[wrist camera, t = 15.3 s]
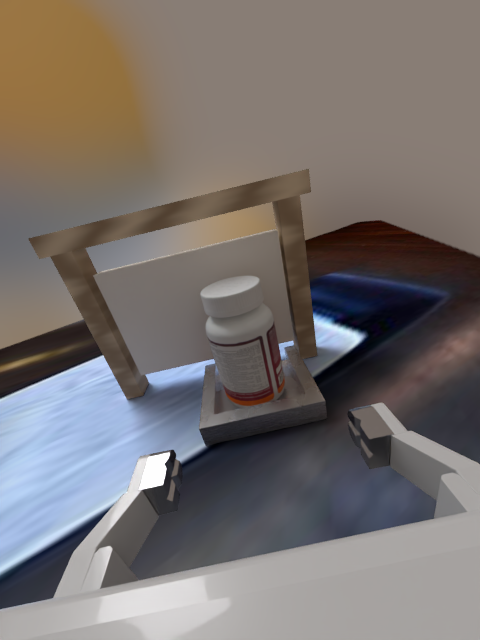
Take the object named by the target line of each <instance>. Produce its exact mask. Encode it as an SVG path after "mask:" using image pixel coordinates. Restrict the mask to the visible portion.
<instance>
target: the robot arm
mask: <svg viewBox="0 0 480 640" xmlns="http://www.w3.org/2000/svg"><path fill="white" fill-rule="evenodd" d="M348 417H349V419H350V422H349V423H348V426H349V431H350V435H351V437H352V439H353V441H354V443H355V445H356V446H357V447H359V448H361V455H362V457H363V459H364V460H365V462H366V464H367V466H368V467H369V469H373V468H379V467H384V466H390V467H391V468H393V469H394V470H395V471H397V472H398V473H400V474H401V475H402V476H404V477H405V478H406V479H408V480H409V481H410V482H412V483H413V484H415V485H416V486H417V487H419V488H420V489H421V490H423V491H424V492H425V493H427V494H428V495H430V496H431V497H432V498H434V499H435V500H436V501H437V504H436V510H435V515H434V518H435V519H431V520H426V521H421V522H416V523H412V524H407V525H402V526H397V527H393V528H388V529H383V530H378V531H373V532H369V533H364V534H359V535H354V536H349V537H345V538H340V539H335V540H330V541H325V542H321V543H316V544H311V545H306V546H301V547H297V548H292V549H287V550H282V551H277V552H273V553H268V554H263V555H258V556H254V557H249V558H244V559H239V560H235V561H230V562H225V563H220V564H215V565H211V566H206V567H201V568H196V569H192V570H187V571H182V572H177V573H173V574H168V575H163V576H158V577H153V578H149V579H144V580H139V581H138V578H137V576H136V575H135V574H134V573H133V572H132V570H131V569H130V568H129V567H130V565H131V563H132V562H133V560H134V558H135V557H136V555H137V553H138V551H139V550H140V548H141V546H142V545H143V543H144V541H145V539H146V538H147V536H148V534H149V533H150V531H151V529H152V528H153V526H154V524H155V522H156V521H157V519H158V517H159V515H163V514H167V513H171V512H175V511H178V505H179V499H180V493H179V491H178V488H179V487H180V485H181V484H182V478H183V475H182V466H181V463H180V461H178V460H176V459H175V458H176V453H175V452H174V450H169V451H164V452H159V453H153V454H149V455H144V456H140V458H139V459H138V461H137V464H136V467H135V470H134V473H133V476H132V479H131V481H130V484H129V487H128V490H127V493H125V494H123V495H122V496H121V497H120V498H119V500H118V501H117V502H116V503H115V504H114V505H113V507H112V508H111V509H110V510H109V511H108V512H107V514H106V515H105V516H104V517H103V518H102V519H101V521H100V522H99V523H98V524H97V525H96V526H95V528H94V529H93V530H92V531H91V532H90V533H89V535H88V536H87V537H86V538H85V539H84V540H83V542H82V543H81V544H80V545H79V546H78V547H77V549H76V550H75V551H74V552H73V554H72V556H71V559H70V561H69V563H68V566H67V568H66V570H65V572H64V575H63V577H62V579H61V581H60V584H59V586H58V588H57V591H56V593H55V595H54V597H53V599H48V600H44V601H39V602H34V603H29V604H24V605H20V606H15V607H10V608H5V609H0V640H480V464H479V463H477V462H474V461H472V460H470V459H468V458H466V457H464V456H462V455H460V454H458V453H456V452H454V451H452V450H450V449H448V448H446V447H444V446H442V445H440V444H438V443H436V442H433V441H431V440H429V439H427V438H425V437H423V436H421V435H419V434H417V433H415V432H413V431H407V430H406V429H405V427H404V426H403V425H402V424H401V423H400V422H399V420H398V419H397V418H396V417H395V416H394V415H393V414H392V412H391V411H390V410H389V409H388V408H387V407H386V405H385V404H383V403H382V402H381V403H377V404H373V405H368V406H363V407H359V408H355V409H351V410H348Z"/></svg>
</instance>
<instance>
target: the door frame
mask: <svg viewBox="0 0 480 640" xmlns="http://www.w3.org/2000/svg"><path fill="white" fill-rule="evenodd" d="M309 192H311V187H310V177H309V169H306V170H302V171H298V172H294V173H290V174H286V175H282V176H278V177H274V178H270V179H266V180H262V181H258V182H254V183H250V184H246V185H242V186H238V187H234V188H230V189H226V190H222V191H217V192H213V193H209V194H205V195H201V196H197V197H193V198H190V199H185V200H182V201H177V202H174V203H170V204H165V205H162V206H157V207H153V208H149V209H145V210H141V211H138V212H133V213H129V214H126V215H121V216H118V217H113V218H109V219H105V220H101V221H97V222H93V223H90V224H85V225H81V226H77V227H73V228H69V229H65V230H61V231H57V232H53V233H49V234H45V235H41V236H37V237H33V238H29V241H30V243H31V244H32V246H33V248H34V250H35V252H36V253H37V255H38V257H39V259H42V258H46V257H51V259H52V261H53V263H54V264H55V266H56V268H57V270H58V272H59V274H60V275H61V277H62V279H63V281H64V283H65V285H66V287H67V289H68V290H69V292H70V294H71V296H72V298H73V300H74V302H75V303H76V305H77V307H78V309H79V311H80V313H81V314H82V316H83V318H84V320H85V322H86V324H87V326H88V328H89V329H90V331H91V333H92V335H93V337H94V339H95V341H96V342H97V344H98V346H99V348H100V350H101V352H102V354H103V355H104V357H105V359H106V361H107V363H108V365H109V367H110V368H111V370H112V372H113V374H114V376H115V378H116V380H117V381H118V383H119V385H120V387H121V389H122V391H123V393H124V394H125V396H126V398H127V399H131V398H135V397H139V396H143V395H144V393H145V391H146V388H147V386H148V383H149V382H148V380H147V378H146V376H145V375H141V374H140V372H139V370H138V368H137V366H136V364H135V362H134V360H133V358H132V355H131V353H130V351H129V349H128V347H127V345H126V343H125V341H124V339H123V337H122V335H121V333H120V331H119V328H118V326H117V324H116V322H115V320H114V318H113V316H112V314H111V312H110V310H109V308H108V306H107V304H106V302H105V299H104V297H103V295H102V293H101V291H100V289H99V287H98V285H97V283H96V281H95V279H94V277H93V275H95V274H97V272H96V270H95V268H94V266H93V264H92V261H91V259H90V258H89V255H88V253H87V251H86V249H85V248H86V247H91V246H95V245H99V244H103V243H107V242H111V241H115V240H119V239H123V238H127V237H131V236H135V235H139V234H143V233H148V232H152V231H155V230H160V229H164V228H168V227H172V226H176V225H180V224H184V223H188V222H192V221H196V220H200V219H204V218H208V217H212V216H216V215H220V214H225V213H228V212H233V211H237V210H241V209H244V208H248V207H253V206H257V205H261V204H265V203H269V202H272V203H273V210H274V216H275V223H276V230H278V237H279V243H280V250H281V256H282V263H283V270H284V276H285V283H286V290H287V296H288V303H289V309H290V316H291V323H292V329H293V336H294V340H293V341H294V345H295V347H296V349H297V350H298V352H299V354H300V356H301V358H302V359H305V358H309V357H314V356H317V348H316V339H315V330H314V321H313V312H312V302H311V293H310V284H309V275H308V266H307V257H306V248H305V239H304V229H303V220H302V211H301V202H300V195H301V194H305V193H309Z"/></svg>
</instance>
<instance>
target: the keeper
mask: <svg viewBox="0 0 480 640" xmlns="http://www.w3.org/2000/svg"><path fill="white" fill-rule="evenodd" d="M284 349H285V355H286V360H283V361H282V367H283V372H284V379H285V388H284V391H283V393H282V395H281V396H280V397H279V398H278V399H277V400H276V401H272V402H267V403H263V404H258V405H254V406H250V407H245V408H239V407H237V406H235V405H234V404H232V403H231V402H230V401H229V399H228V398H227V395H226V393H225V390H224V387H223V384H222V381H221V378H220V375H219V372H218V369H217V366H216V363H215V364H211V365H206V366H205V375H204V385H203V395H202V405H201V415H200V425H199V430H200V432H201V435H202V437H203V440H204V442H205V445H206V446H207V445H211V444H216V443H220V442H225V441H229V440H234V439H238V438H243V437H247V436H252V435H256V434H261V433H265V432H270V431H274V430H279V429H283V428H288V427H292V426H297V425H301V424H306V423H310V422H315V421H319V420H324V419H327V413H326V404H325V399H324V398H323V396H322V394H321V392H320V390H319V389H318V387H317V385H316V383H315V381H314V379H313V378H312V376H311V374H310V372H309V370H308V369H307V367H306V365H305V363H304V361H303V360H302V358H301V356H300V354H299V352H298V350H297V349H296V347H295V345H293V346H289V347H284Z"/></svg>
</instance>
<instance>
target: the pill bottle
mask: <svg viewBox="0 0 480 640" xmlns="http://www.w3.org/2000/svg"><path fill="white" fill-rule="evenodd" d="M200 295H201V299H202V302H203V306H204V310H205V313H206V314H207V315H208V316H209V318H208V320H207V322H206V327H205V328H206V334H207V338H208V341H209V344H210V348H211V351H212V354H213V357H214V360H215V363H216V366H217V369H218V372H219V375H220V378H221V381H222V384H223V387H224V390H225V393H226V395H227V398H228V399H229V401H230V402H231V403H232V404H234V405H235V406H237V407H239V408H245V407H250V406H254V405H258V404H263V403H267V402H272V401H276V400H277V399H278V398H279V397H280V396H281V395H282V393H283V391H284V388H285V379H284V372H283V367H282V361H281V356H280V350H279V345H278V340H277V334H276V329H275V324H274V318H273V314H272V312H271V310H270V309H269V307H267V306H266V305H265V304H263V303H262V302H263V300H264V297H263V292H262V288H261V283H260V279H259V278H258V277H255V276H236V277H231V278H227V279H223V280H220V281H217V282H215V283H212V284H210V285H208V286H207V287H205V288H204V289H203V290H202V291H201V293H200Z"/></svg>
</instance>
